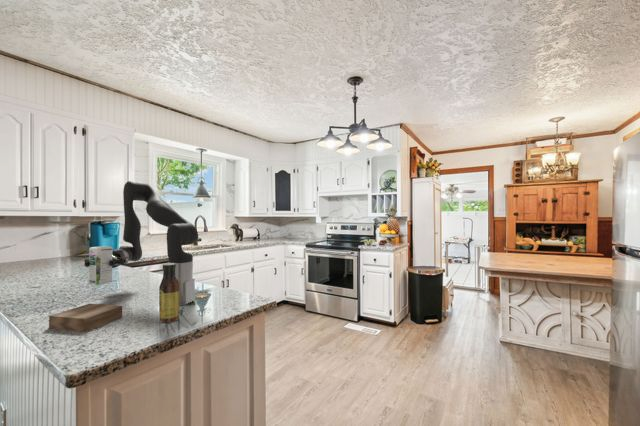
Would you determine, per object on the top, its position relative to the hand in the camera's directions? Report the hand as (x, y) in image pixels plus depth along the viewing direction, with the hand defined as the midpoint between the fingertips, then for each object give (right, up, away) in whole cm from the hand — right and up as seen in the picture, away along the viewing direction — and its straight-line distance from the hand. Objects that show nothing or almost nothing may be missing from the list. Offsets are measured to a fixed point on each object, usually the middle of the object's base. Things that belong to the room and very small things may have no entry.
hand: (98, 263), depth 117 cm
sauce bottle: (+34, -18, -13) cm, 41 cm away
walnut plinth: (+7, -17, -15) cm, 24 cm away
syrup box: (0, -8, +2) cm, 8 cm away
